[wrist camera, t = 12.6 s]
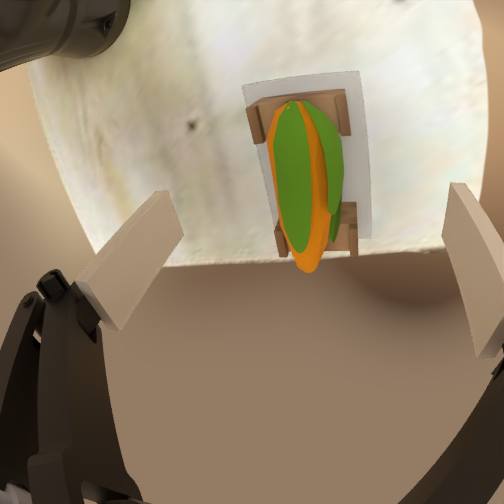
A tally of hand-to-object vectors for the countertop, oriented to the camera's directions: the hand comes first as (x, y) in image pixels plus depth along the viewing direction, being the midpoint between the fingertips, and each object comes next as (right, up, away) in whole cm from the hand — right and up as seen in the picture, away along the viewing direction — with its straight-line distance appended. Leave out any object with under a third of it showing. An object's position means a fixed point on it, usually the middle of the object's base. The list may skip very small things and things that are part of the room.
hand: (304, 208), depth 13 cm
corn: (+4, +6, +19) cm, 21 cm away
